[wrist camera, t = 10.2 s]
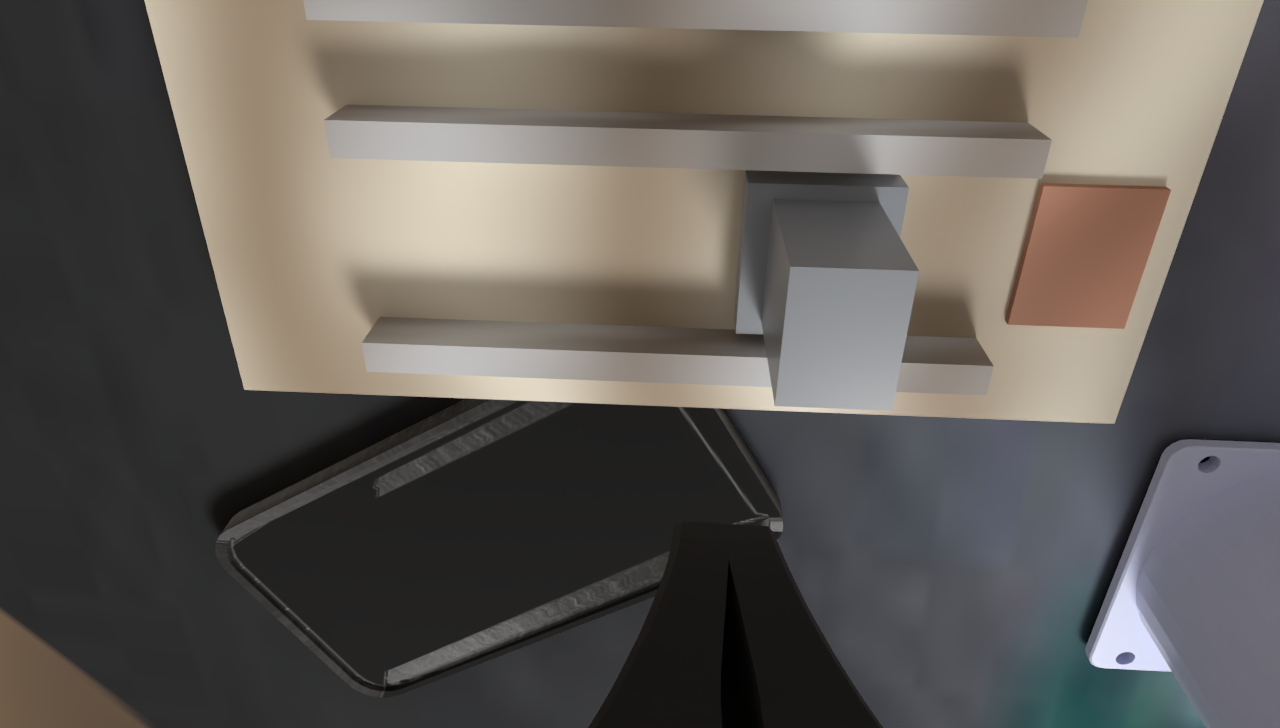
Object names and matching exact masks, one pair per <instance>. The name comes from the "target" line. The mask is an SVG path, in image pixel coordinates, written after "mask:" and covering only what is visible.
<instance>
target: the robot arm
mask: <svg viewBox="0 0 1280 728" xmlns="http://www.w3.org/2000/svg"><path fill="white" fill-rule="evenodd" d="M1209 456H1211V457H1210V458H1209V460H1207V461H1205V462H1204V463H1199V462H1200V461H1201V460H1202V459H1204V458H1206V457H1209ZM1085 653H1086V654H1087V656H1088V658H1089V660H1090V662H1091V664H1092V665H1094V666H1096V667H1100V668H1111V669H1131V670H1151V671H1171V672H1172V673H1173V674H1174V676H1175V678H1176V679H1177V681H1178V683H1179V684H1180V686H1181V688H1182V689H1183V691H1184V692H1185V694H1186V696H1187V697H1188V699H1189V701H1190V702H1191V704H1192V706H1193V707H1194V709H1195V711H1196V712H1197V714H1198V716H1199V717H1200V719H1201V721H1202V722H1203V724H1204V726H1205V727H1206V728H1280V443H1269V442H1244V441H1219V440H1194V439H1187V440H1179V441H1177V442H1175V443H1172V444H1171V445H1170V446H1168V447H1167V448H1166V449H1165V450H1164V452H1163V453H1162V455H1161V458H1160V460H1159V463H1158V465H1157V468H1156V470H1155V473H1154V475H1153V478H1152V481H1151V483H1150V486H1149V488H1148V491H1147V493H1146V496H1145V498H1144V501H1143V503H1142V506H1141V508H1140V511H1139V513H1138V516H1137V518H1136V521H1135V524H1134V526H1133V529H1132V531H1131V534H1130V536H1129V539H1128V541H1127V544H1126V546H1125V549H1124V551H1123V554H1122V556H1121V559H1120V561H1119V564H1118V567H1117V569H1116V572H1115V574H1114V577H1113V579H1112V582H1111V584H1110V587H1109V589H1108V592H1107V594H1106V597H1105V599H1104V602H1103V605H1102V607H1101V610H1100V612H1099V615H1098V617H1097V620H1096V622H1095V625H1094V627H1093V630H1092V632H1091V635H1090V637H1089V640H1088V642H1087V645H1086V648H1085ZM588 728H883V727H882V726H881V724H880V723H879V721H878V720H877V719H876V717H875V716H874V714H873V713H872V711H871V710H870V708H869V707H868V706H867V704H866V703H865V701H864V700H863V698H862V697H861V695H860V694H859V692H858V690H857V689H856V687H855V686H854V684H853V683H852V681H851V680H850V678H849V677H848V675H847V674H846V672H845V670H844V669H843V667H842V666H841V664H840V662H839V661H838V659H837V657H836V656H835V654H834V652H833V651H832V649H831V647H830V646H829V644H828V642H827V640H826V639H825V637H824V635H823V633H822V632H821V630H820V628H819V626H818V624H817V623H816V621H815V619H814V617H813V616H812V614H811V612H810V610H809V608H808V606H807V604H806V603H805V601H804V599H803V597H802V595H801V593H800V591H799V589H798V587H797V585H796V583H795V581H794V579H793V576H792V574H791V572H790V570H789V568H788V566H787V563H786V561H785V559H784V556H783V554H782V552H781V549H780V547H779V544H778V542H777V539H776V536H775V533H774V532H773V531H772V530H771V529H770V528H769V527H768V526H755V525H738V524H720V523H703V522H686V521H682V522H680V523H679V524H677V525H676V526H674V528H673V539H672V544H671V549H670V554H669V558H668V561H667V565H666V568H665V571H664V574H663V577H662V580H661V583H660V586H659V589H658V591H657V594H656V596H655V599H654V601H653V603H652V606H651V608H650V611H649V613H648V615H647V618H646V620H645V623H644V625H643V628H642V630H641V632H640V634H639V636H638V638H637V640H636V642H635V644H634V646H633V648H632V650H631V652H630V654H629V656H628V658H627V660H626V662H625V664H624V666H623V668H622V670H621V672H620V674H619V676H618V678H617V680H616V682H615V683H614V685H613V687H612V689H611V691H610V692H609V694H608V696H607V698H606V699H605V701H604V703H603V705H602V706H601V708H600V710H599V711H598V713H597V715H596V716H595V718H594V719H593V721H592V723H591V724H590V726H589V727H588Z"/></svg>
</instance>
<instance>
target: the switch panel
mask: <svg viewBox="0 0 1280 728" xmlns="http://www.w3.org/2000/svg"><path fill="white" fill-rule="evenodd" d="M144 1H145V5H146V9H147V12H148V16H149V20H150V24H151V28H152V32H153V36H154V40H155V44H156V47H157V51H158V55H159V59H160V63H161V67H162V71H163V75H164V79H165V83H166V86H167V90H168V94H169V98H170V102H171V106H172V110H173V114H174V118H175V121H176V125H177V129H178V133H179V137H180V141H181V145H182V149H183V153H184V157H185V160H186V164H187V168H188V172H189V176H190V180H191V184H192V188H193V192H194V195H195V199H196V203H197V207H198V211H199V215H200V219H201V223H202V227H203V231H204V234H205V238H206V242H207V246H208V250H209V254H210V258H211V262H212V266H213V269H214V273H215V277H216V281H217V285H218V289H219V293H220V297H221V301H222V305H223V308H224V312H225V316H226V320H227V324H228V328H229V332H230V336H231V340H232V343H233V347H234V351H235V355H236V359H237V363H238V367H239V371H240V375H241V379H242V382H243V386H244V390H264V391H289V392H315V393H340V394H366V395H391V396H417V397H442V398H468V399H493V400H519V401H544V402H570V403H595V404H621V405H646V406H672V407H697V408H722V409H748V410H773V411H799V412H824V413H850V414H875V415H901V416H926V417H952V418H977V419H1003V420H1028V421H1054V422H1079V423H1104V424H1115V421H1116V418H1117V415H1118V412H1119V409H1120V407H1121V404H1122V401H1123V398H1124V395H1125V392H1126V390H1127V387H1128V384H1129V381H1130V378H1131V375H1132V373H1133V370H1134V367H1135V364H1136V361H1137V358H1138V356H1139V353H1140V350H1141V347H1142V344H1143V341H1144V339H1145V336H1146V333H1147V330H1148V327H1149V324H1150V322H1151V319H1152V316H1153V313H1154V310H1155V307H1156V305H1157V302H1158V299H1159V296H1160V293H1161V290H1162V288H1163V285H1164V282H1165V279H1166V276H1167V273H1168V271H1169V268H1170V265H1171V262H1172V259H1173V256H1174V254H1175V251H1176V248H1177V245H1178V242H1179V239H1180V237H1181V234H1182V231H1183V228H1184V225H1185V222H1186V220H1187V217H1188V214H1189V211H1190V208H1191V205H1192V203H1193V200H1194V197H1195V194H1196V191H1197V188H1198V186H1199V183H1200V180H1201V177H1202V174H1203V171H1204V169H1205V166H1206V163H1207V160H1208V157H1209V154H1210V152H1211V149H1212V146H1213V143H1214V140H1215V137H1216V135H1217V132H1218V129H1219V126H1220V123H1221V120H1222V118H1223V115H1224V112H1225V109H1226V106H1227V103H1228V101H1229V98H1230V95H1231V92H1232V89H1233V86H1234V84H1235V81H1236V78H1237V75H1238V72H1239V69H1240V67H1241V64H1242V61H1243V58H1244V55H1245V52H1246V50H1247V47H1248V44H1249V41H1250V38H1251V35H1252V33H1253V30H1254V27H1255V24H1256V21H1257V18H1258V16H1259V13H1260V10H1261V7H1262V4H1263V1H1264V0H144ZM745 170H757V171H792V172H826V173H861V174H895V175H900V176H901V177H902V178H903V180H904V181H905V183H906V184H907V185H908V187H909V191H908V196H907V202H906V208H905V213H904V219H903V225H902V230H901V236H900V239H901V240H902V242H903V244H904V245H905V247H906V249H907V251H908V252H909V254H910V256H911V258H912V259H913V261H914V263H915V264H916V266H917V268H918V270H919V275H918V280H917V285H916V290H915V295H914V301H913V306H912V311H911V316H910V321H909V326H908V332H907V337H906V342H905V347H904V352H903V357H902V362H901V368H900V373H899V378H898V383H897V388H896V393H895V399H894V404H893V409H892V411H886V410H861V409H835V408H810V407H784V406H775V404H774V398H773V392H772V385H771V379H770V373H769V367H768V361H767V354H766V348H765V342H764V336H763V334H736V332H735V322H734V309H735V296H736V283H737V270H738V257H739V245H740V232H741V219H742V206H743V193H744V180H745Z"/></svg>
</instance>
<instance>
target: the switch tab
mask: <svg viewBox="0 0 1280 728" xmlns="http://www.w3.org/2000/svg"><path fill="white" fill-rule="evenodd" d="M908 191H909V187H908V185H907V184H906V183H905V181H904V180H903V178H902V177H901V176H900V175H895V174H861V173H826V172H792V171H757V170H745V180H744V193H743V206H742V219H741V232H740V245H739V257H738V270H737V283H736V296H735V309H734V322H735V332H736V334H763V336H764V342H765V348H766V354H767V361H768V367H769V373H770V379H771V385H772V392H773V398H774V404H775V406H784V407H810V408H835V409H861V410H886V411H892V409H893V404H894V399H895V393H896V388H897V383H898V378H899V373H900V368H901V362H902V357H903V352H904V347H905V342H906V337H907V332H908V326H909V321H910V316H911V311H912V306H913V301H914V295H915V290H916V285H917V280H918V275H919V270H918V268H917V266H916V264H915V263H914V261H913V259H912V258H911V256H910V254H909V252H908V251H907V249H906V247H905V245H904V244H903V242H902V240H901V239H900V236H901V230H902V225H903V219H904V213H905V208H906V202H907V196H908Z"/></svg>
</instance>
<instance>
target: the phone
mask: <svg viewBox="0 0 1280 728" xmlns="http://www.w3.org/2000/svg"><path fill="white" fill-rule="evenodd" d="M682 521H686V522H703V523H720V524H738V525H755V526H768V527H769V528H770V529H771V530H772V531H773V532H774V533H775V536H776V539H777V542H778V541H779V539H780V536H781V534H782V532H783V518H782V511H781V505H780V502H779V499H778V497H777V494H776V492H775V491H774V489H773V488H772V486H771V484H770V483H769V481H768V480H767V478H766V476H765V475H764V473H763V472H762V470H761V468H760V467H759V465H758V464H757V462H756V460H755V459H754V457H753V456H752V454H751V452H750V451H749V449H748V447H747V446H746V444H745V443H744V441H743V439H742V438H741V436H740V435H739V433H738V431H737V430H736V428H735V427H734V425H733V423H732V422H731V420H730V419H729V417H728V415H727V414H726V412H725V411H724V409H722V408H697V407H672V406H646V405H621V404H595V403H570V402H544V401H519V400H493V399H468V398H466V399H464V400H462V401H460V402H458V403H456V404H454V405H452V406H450V407H448V408H446V409H444V410H442V411H440V412H438V413H436V414H434V415H432V416H430V417H428V418H426V419H424V420H422V421H420V422H418V423H416V424H414V425H412V426H410V427H408V428H406V429H404V430H402V431H400V432H398V433H396V434H394V435H392V436H390V437H388V438H386V439H384V440H382V441H380V442H378V443H376V444H374V445H372V446H370V447H368V448H366V449H364V450H362V451H360V452H358V453H356V454H354V455H352V456H350V457H348V458H346V459H344V460H342V461H340V462H338V463H336V464H334V465H332V466H330V467H328V468H326V469H324V470H322V471H320V472H318V473H316V474H314V475H312V476H310V477H308V478H306V479H304V480H302V481H300V482H298V483H296V484H294V485H292V486H290V487H288V488H286V489H284V490H282V491H280V492H278V493H276V494H274V495H272V496H270V497H268V498H266V499H264V500H262V501H260V502H258V503H256V504H254V505H252V506H250V507H248V508H246V509H244V510H242V511H240V512H238V513H237V514H236V515H235V516H233V517H232V519H231V520H230V521H229V523H228V524H227V526H226V527H225V529H224V530H223V531H222V533H221V534H220V536H219V538H218V540H217V541H216V543H215V554H216V556H217V558H218V561H219V563H220V564H221V565H222V567H223V568H224V569H225V570H226V571H227V572H228V573H229V574H230V575H231V576H232V577H233V578H234V579H235V580H236V581H237V582H238V583H240V584H241V585H242V586H243V587H244V588H245V589H246V590H247V591H248V592H249V593H250V594H251V595H252V596H253V597H255V598H256V599H257V600H258V601H259V602H260V603H261V604H262V605H263V606H264V607H265V608H266V609H267V610H268V611H270V612H271V613H272V614H273V615H274V616H275V617H276V618H277V619H278V620H279V621H280V622H281V623H282V624H283V625H285V626H286V627H287V628H288V629H289V630H290V631H291V632H292V633H293V634H294V635H295V636H296V637H297V638H298V639H300V640H301V641H302V642H303V643H304V644H305V645H306V646H307V647H308V648H309V649H310V650H311V651H312V652H313V653H315V654H316V655H317V656H318V657H319V658H320V659H321V660H322V661H323V662H324V663H325V664H326V665H327V666H328V667H330V668H331V669H332V670H333V671H334V672H335V673H336V674H337V675H338V676H339V677H340V678H341V679H342V680H343V681H345V682H346V683H347V684H348V685H349V686H351V687H352V688H353V689H355V690H356V691H358V692H361V693H363V694H365V695H369V696H374V697H393V696H397V695H401V694H403V693H406V692H408V691H411V690H413V689H416V688H419V687H421V686H424V685H426V684H429V683H432V682H434V681H437V680H439V679H442V678H444V677H447V676H450V675H452V674H455V673H457V672H460V671H463V670H465V669H468V668H470V667H473V666H475V665H478V664H481V663H483V662H486V661H488V660H491V659H494V658H496V657H499V656H501V655H504V654H506V653H509V652H512V651H514V650H517V649H519V648H522V647H525V646H527V645H530V644H532V643H535V642H538V641H540V640H543V639H545V638H548V637H550V636H553V635H556V634H558V633H561V632H563V631H566V630H569V629H571V628H574V627H576V626H579V625H581V624H584V623H587V622H589V621H592V620H594V619H597V618H600V617H602V616H605V615H607V614H610V613H612V612H615V611H618V610H620V609H623V608H625V607H628V606H631V605H633V604H636V603H638V602H641V601H644V600H646V599H649V598H651V597H654V596H656V594H657V591H658V589H659V586H660V583H661V580H662V577H663V574H664V571H665V568H666V565H667V561H668V558H669V554H670V549H671V544H672V539H673V528H674V526H676V525H677V524H679V523H680V522H682Z"/></svg>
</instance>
